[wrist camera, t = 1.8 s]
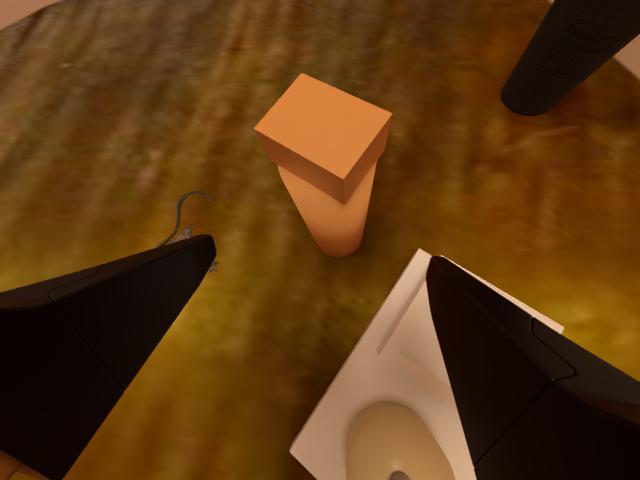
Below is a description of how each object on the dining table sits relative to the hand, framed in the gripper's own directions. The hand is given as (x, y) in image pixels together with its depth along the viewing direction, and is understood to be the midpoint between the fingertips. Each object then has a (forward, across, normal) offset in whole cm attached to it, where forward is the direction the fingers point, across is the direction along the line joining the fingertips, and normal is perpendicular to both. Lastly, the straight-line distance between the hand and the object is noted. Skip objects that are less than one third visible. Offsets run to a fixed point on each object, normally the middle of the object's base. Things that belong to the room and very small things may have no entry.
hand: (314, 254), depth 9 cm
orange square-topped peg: (+11, 0, +5) cm, 12 cm away
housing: (+3, -7, +13) cm, 15 cm away
